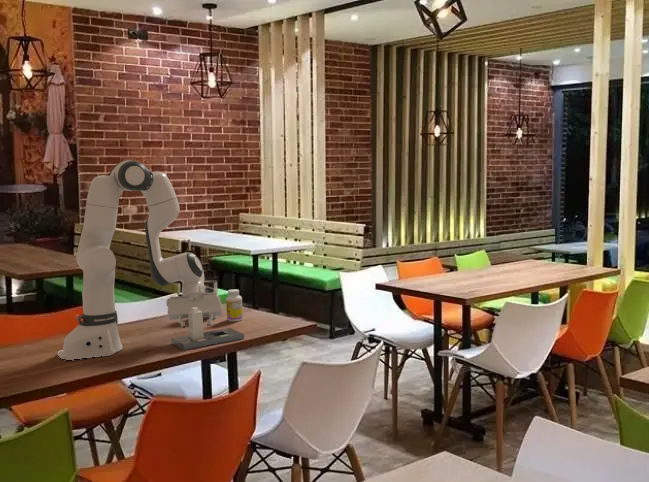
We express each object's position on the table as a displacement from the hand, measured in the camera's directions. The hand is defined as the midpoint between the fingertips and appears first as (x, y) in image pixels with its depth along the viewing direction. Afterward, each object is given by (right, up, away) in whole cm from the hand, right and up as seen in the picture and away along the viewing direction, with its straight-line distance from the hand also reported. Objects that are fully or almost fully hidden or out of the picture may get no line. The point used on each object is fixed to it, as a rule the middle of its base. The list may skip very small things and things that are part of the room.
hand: (196, 326), depth 262 cm
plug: (0, -7, +1) cm, 7 cm away
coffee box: (-3, -2, +44) cm, 44 cm away
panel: (+4, -6, +4) cm, 8 cm away
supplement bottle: (+10, -2, +37) cm, 38 cm away
